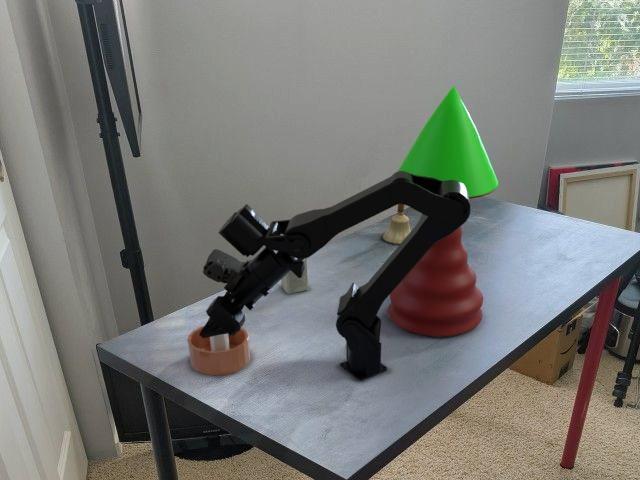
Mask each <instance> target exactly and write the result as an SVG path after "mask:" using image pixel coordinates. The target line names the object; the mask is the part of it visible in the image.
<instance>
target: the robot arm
mask: <svg viewBox="0 0 640 480" xmlns="http://www.w3.org/2000/svg"><path fill="white" fill-rule="evenodd" d="M397 171H398V170H397ZM397 171H395V172H394V173H393V174H392V175H390V176H389V177H387V178H385V179H383V180H381V181H379V182H378V183H375V184H374V185H372V186H369V187H367V188H365V189H363V190H362V191H360V192H358V193H356V194H353V195H351V196H350V197H348V198H346V199H343V200H342V201H340V202H338V203H335V204H334V205H331V206H329V207H325V208H320V209H319V208H318V209H317V208H316V209H312V210H308V211H305V212H301V213H298V214H296V215H294V216H293V217H291V218H290V219H281V220H272V221H271V222H270V223H269V225H268V224H267V223H266V222H265V221H264V220H263V219H262V218H261V217H260V216H259V215H258V214H257V213H256V212H255V210H254V209H253V208H252V207H251V205H250V204H248V203H245V205H244V206H243V207H241V208H240V209H238V210H237V211H235V212H234V213H232V215H230V217H229V218H228V219H227V220H226V221H225V222H224V224H223V225H222V226H221V228H220V229H219V230H218V232H217V233H218V234H219V235H220V236H221V237H222V238H223V239H224V240H225V241H226V242H227V243H228V244H230V245H231V247H233V248H234V249H235V250H236V251H237V252H238V253H240V255H242V256H243V257H246V258H249V257H250V256H252V257H253V256H255V254H257V255H256V256H255V257H254V258H253V259H252V258H251V259H247V260H246V261H240V260H239V259H238V258H237V257H234V256H232V255H231V254H228V253H226V252H224V251H223V250H220V249H217V248H215V249H213V250H212V251H211V253H210V254H209V255H208V256H207V259H206V262H205V264H204V265H203V270H202V274H203V275H204V276H206V278H208V279H210V280H212V281H213V282H216V283H222V284H225V285H224V287H223V289H224V290H225V291H226V292H225V293H224V295H217V297H215V298H214V299H215V300H214V301H213V300H212V302H211V303H210V304H209V305H208V307H207V309H206V310H205V313H206V315H207V316H208V319H209V320H207V321H206V323H205V324H204V325H203V326H204V327H203V329H202V330H201V332H200V333H199V335H200V336H201V337H202V338H207V337H212V336H217V335H222V334H229V335H231V336H234V335H235V334H236V333H237V332H238V331H239V330H240V329H241V327H242V328H243V325H244V324H245V322H246V314H245V313H244V312H243V310H244V308H245V307H246V309H248V310H249V311H251V310H252V309H253V308H254V307H255V306H256V304H257V302H259V301H260V300H261V298H262V297H267V296H268V295H269V294H270V292H271V290H272V288H273V287H274V286H275V285H277V284H278V283H279V282H280V281H281V279H282V278H283V277H284V276H285V275H286V274H288V273H289V272H290V271H292V272H293V273H294V274H295V275H296V276H297V277H298V278H301V277H302V275H303V272H304V269H305V266H304V260H305V259H309V258H310V257H312V256H313V255H315V254H316V253H317V252H319V251H320V250H322V248H324V247H325V246H326V245H327V244H328V243H329V242H330V241H331V240H333V238H335V237H336V236H337V235H338V234H340V233H343V232H344V231H347V230H349V229H350V228H352V227H355V226H357V225H358V224H361V223H362V222H365V221H366V220H369V219H371V218H373V217H375V216H377V215H379V214H381V213H383V212H385V211H387V210H389V209H391V208H393V207H395V206H398V204H400V203H401V204H404V206H406V207H409V208H411V209H413V210H415V211H417V212H418V213H420V214H421V215H420V218H419V220H418V221H417V223H416V224H415V226H414V227H413V228H412V229H411V232H410V233H409V234H408V235H407V236H406V238H405V239H404V240H403V241H402V242H401V244H398V246H397V247H396V248H395V249H394V250H393V252H392V253H391V254H390V255H389V257H388V258H387V259H386V260H385V261H384V262H383V264H381V266H380V267H379V269H378V270H377V271H376V272H375V273H374V274H373V275H372V276H371V278H370V279H369V280H368V281H367V282H366V283H365V284H363V285H360V286H359V287H358V286H357V284H355V282H352V284H351V285H350V287H349V288H348V290H347V291H346V293H345V294H343V295H341V296H340V297H339V301H338V306H337V310H336V315H337V317H336V320H335V329H336V331H337V334H339V335H340V336H341V337H342V338H344V339H345V342H346V344H345V351H346V352H345V356H346V357H345V358H346V360H345V361H343V362H341V363H340V364H339V367H340V368H341V369H343V370H344V371H346V372H347V373H349V375H351V376H353V377H354V378H355V379H356V380H358V381H364V380H366V379H370V378H371V377H374V376H376V375H378V374H382V373H384V372H386V371H388V367H387V366H386V365H384V364H383V363H382V342H381V331H382V330H381V328H382V319H381V318H380V317H379V316H378V314H379V311H380V310H381V307H382V305H383V303H384V302H385V301H386V300H387V299H388V297H390V294H391V293H392V291H393V290H394V289H395V288H396V287H397V286H398V285H399V283H400V282H401V281H402V280H403V279H404V278H405V277H406V275H407V274H408V273H409V272H410V271H411V270H412V269H413V267H414V266H415V265H416V264H417V263H418V262H419V261H420V259H421V258H422V257H423V256H424V255H425V254H426V253H427V251H428V250H429V249H430V248H431V247H432V246H433V245H434V244H435V243H436V242H438V241H439V240H441V239H443V238H445V237H447V236H449V235H450V234H452V233H453V232H454V231H455V230H457V229H458V228H459V227H460V226H461V227H462V226H463V225H464V224H466V222H467V221H468V220H469V218H470V216H471V200H470V199H469V194H468V191H467V188H466V187H465V186H464V184H463V183H461V182H459V181H456V180H445V181H442V180H439V179H436V178H432V177H426V176H419V175H414V174H411V173H408V172H405V171H398V172H397ZM263 247H264V248H263ZM262 248H263V249H262ZM261 249H262V250H261ZM260 250H261V251H260ZM259 251H260V252H259ZM258 252H259V253H258Z"/></svg>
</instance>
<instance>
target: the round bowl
mask: <svg viewBox="0 0 640 480" xmlns="http://www.w3.org/2000/svg"><path fill="white" fill-rule="evenodd" d="M204 326H205V325H203V326H200V327H198V328H195V329H194V330H193V331H192V332H190V334H189V335H188V337H187V347H188V354H189V360H190V365H191V367H192V368H193V369H194V370H195V371H197V372H199V373H201V374H205V375H208V376H209V375H210V376H226V375H231V374H234V373H236V372H239V371H241V370H242V369H244V368H245V367H246V366H247V365H248V364H249V362H250V359H251V351H250V349H251V348H250V339H249V337H250V336H249V333H248V331H247V330H246V329H245V328H243V326H242V327H241V329H240V330H239V331H238V332H237V333H236V334H235V335H234V336H231V335H229V334H228V337H229V347H230V349H229V350H224V351H211V345H210V337H207V338H202V337H201V336H200V335H199V333H200V332H201V330H202V329H203V327H204Z"/></svg>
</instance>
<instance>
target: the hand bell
mask: <svg viewBox="0 0 640 480" xmlns="http://www.w3.org/2000/svg"><path fill="white" fill-rule="evenodd" d="M411 231H412V229H411V227H410V218H409V217H408V216H407V215H405V205H404V204H401V203H400V204H397V213H396V214H394V215H393V216H392V217H391V220H390V224H389V228H388V229H387V231H385V233H383V235H382V239H383V240H384V241H385V242H386V243H390V244H394V245H400V244H401V242H402V241H403V240H404V239H405V238H406V236H407V235H408V234H409V233H410V232H411Z"/></svg>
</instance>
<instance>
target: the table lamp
mask: <svg viewBox="0 0 640 480" xmlns="http://www.w3.org/2000/svg"><path fill="white" fill-rule="evenodd" d="M398 171H405V172H408V173H411V174H414V175H419V176H426V177H432V178H436V179H439V180H442V181H445V180H456V181H459V182H461V183H463V184H464V186H465V187H466V188H467V191H468V194H469V200H470V199H477V198H481V197H484V196H486V195H490V194H492V193H493V192H495V191H496V189H498V187H499V179H498V178H497V176H496V172H495V170H494V168H493V165H492V163H491V160H490V159H489V155H488V153H487V151H486V148H485V146H484V144H483V140H482V139H481V136H480V134H479V132H478V129H477V127H476V125H475V123H474V121H473V119H472V117H471V115H470V113H469V111H468V109H467V108H466V105H465V104H464V102H463V100H462V98H461V97H460V95H459V92H458V90H457V89H456V87H455V85H452V87H451V88H450V90H449V91H448V92H447V94H446V95H445V96H444V98H442V100H441V102H440V103H439V105H438V106H437V107H436V109H435V110H434V111H433V112H432V114H431V115H430V117H429V118H428V120H427V121H426V123H425V124H424V126H423V127H422V129H421V131H420V133H419V134H418V135H417V138H416V140H415V141H414V143H413V144H412V146H411V148H410V149H409V150H408V153H407V154H406V156H405V158H404V159H403V161H402V163H401V165H400V166H399V168H398V169H397V171H396V172H398ZM462 237H463V228H462V226H460V227H459V228H458V229H457V230H455V231H454V232H453V233H452V234H450V235H449V236H447V237H445V238H443V239H441V240H439V241H438V242H436V243H435V244H434V245H433V246H432V247H431V248H430V249H429V250H428V251H427V253H426V254H425V255H424V256H423V257H422V258H421V259H420V261H419V262H418V263H417V264H416V265H415V266H414V267H413V269H412V270H411V271H410V272H409V273H408V274H407V275H406V277H405V278H404V279H403V280H402V281H401V282H400V283H399V285H398V286H397V287H396V288H395V289H394V290H393V291H392V293H391V294H390V295H389V301H390V303H389V306H388V307H387V315H388V317H389V319H390V320H391V321H392V323H394V324H395V325H396V326H397V327H399V328H400V329H402V330H404V331H406V332H409V333H411V334H415V335H421V336H426V337H427V336H428V337H436V338H437V337H439V338H440V337H441V338H444V337H445V338H446V337H453V336H458V335H462V334H466V333H468V332H470V331H472V330H474V329H475V328H476V327H478V326H479V325H480V324H481V322H482V320H483V312H482V306H483V304H484V295H483V293H482V291H481V290H480V288H479V287H478V285H476V284H477V274H476V272H475V270H474V269H473V268H472V267H471V266H470V264H469V263H468V259H469V256H468V251H467V249H466V247H465V245H464V244H463V243H462Z"/></svg>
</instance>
